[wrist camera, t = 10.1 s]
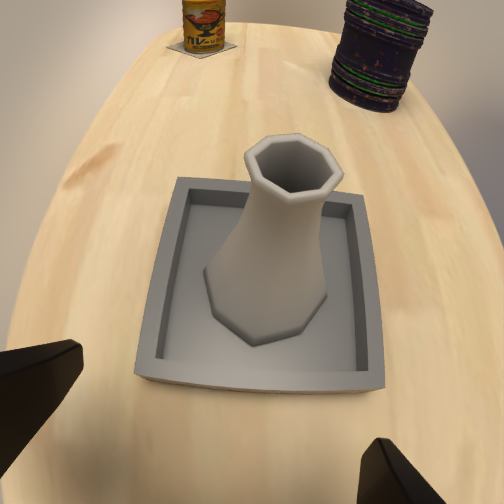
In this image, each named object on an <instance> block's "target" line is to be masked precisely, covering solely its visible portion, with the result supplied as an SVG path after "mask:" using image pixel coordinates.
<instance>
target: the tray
mask: <svg viewBox="0 0 504 504" xmlns="http://www.w3.org/2000/svg"><path fill="white" fill-rule="evenodd" d="M250 185H251V182H248V181H236V180H223V179H208V178H191V177H178V178H177V181H176V184H175V188H174V191H173V194H172V198H171V201H170V205H169V209H168V212H167V216H166V220H165V223H164V227H163V231H162V235H161V239H160V243H159V247H158V251H157V255H156V259H155V264H154V268H153V272H152V277H151V281H150V286H149V291H148V295H147V300H146V305H145V310H144V316H143V321H142V326H141V332H140V337H139V343H138V349H137V356H136V362H135V369H134V374H136V375H138V376H140V377H142V378H145V379H148V380H153V381H159V382H165V383H172V384H179V385H186V386H193V387H201V388H210V389H220V390H230V391H243V392H258V393H280V394H340V393H361V392H370V391H374V390H378V389H383V388H385V366H384V346H383V332H382V319H381V308H380V299H379V290H378V282H377V274H376V266H375V259H374V253H373V246H372V240H371V234H370V228H369V223H368V217H367V212H366V207H365V202H364V197H363V195H358V194H351V193H344V192H337V191H332V192H331V194H330V195H329V196H328V197H327V198H326V200H325V202H324V204H323V207H322V212H321V221H320V230H319V242H320V249H321V257H322V265H323V271H324V277H325V282H326V287H327V295H328V297H327V298H326V300H325V301H324V303H323V304H322V305H321V307H320V308H319V310H318V311H317V313H316V314H315V315H314V317H313V318H312V320H311V321H310V322H309V324H308V325H307V327H306V328H305V329H304V331H303V332H302V333H301V334H297V335H294V336H290V337H286V338H283V339H279V340H275V341H272V342H268V343H264V344H260V345H256V346H252V345H250V344H249V343H248V342H246V341H245V340H244V339H242V338H241V337H240V336H239V335H237V334H236V333H235V332H233V331H232V330H231V329H230V328H228V327H227V326H226V325H224V324H223V323H222V322H221V321H219V320H218V319H217V318H216V317H214V316H213V315H212V310H211V306H210V302H209V297H208V293H207V288H206V284H205V279H204V275H203V269H204V268H205V267H206V265H207V264H208V262H209V261H210V260H211V259H212V257H213V256H214V255H215V254H216V252H217V251H218V250H219V249H220V247H221V246H222V244H223V243H224V242H225V240H226V239H227V237H228V236H229V234H230V233H231V232H232V230H233V229H234V227H235V226H236V224H237V223H238V221H239V220H240V217H241V215H242V212H243V210H244V207H245V204H246V202H247V199H248V197H249V194H250Z"/></svg>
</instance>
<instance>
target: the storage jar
mask: <svg viewBox="0 0 504 504" xmlns="http://www.w3.org/2000/svg"><path fill="white" fill-rule="evenodd" d="M346 7H347V8H346V10H345V13H344V20H345V24H344V28H343V32H342V36H341V41H340V44H339V45H338V46H337V49H336V53H335V56H334V58H333V62H332V70H331V74H332V75H331V76H330V78H329V86H330V88H331V89H332V90H333V91H334V92H335V93H336V94H337V95H338V96H340V97H341V98H343V99H344V100H346V101H348V102H350V103H352V104H354V105H356V106H358V107H361V108H364V109H367V110H370V111H375V112H381V113H389V112H393V111H395V110H396V109H397V107H398V104H399V100H400V99H401V97H402V95H403V94H404V92H405V90H406V87H407V82H408V80H409V78H410V70H411V67H412V64H413V62H414V59H415V57H416V54H417V51H418V49H420V48H421V46H422V45H423V41H424V37H426V34H427V32H428V28H427V27H426V26H429V23H430V17H431V16H432V15H433V12H434V11H433V10H432V9H430V8H429V7H427V6H425V5H423V4H421V3H419V2H417V1H415V0H347V2H346Z"/></svg>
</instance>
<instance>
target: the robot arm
mask: <svg viewBox="0 0 504 504" xmlns="http://www.w3.org/2000/svg"><path fill="white" fill-rule="evenodd" d="M83 367H84V361H83V347H82V345H81V344H80V343H78V342H76V341H74V340H72V339H68V340H63V341H58V342H53V343H47V344H42V345H37V346H31V347H26V348H20V349H15V350H9V351H3V352H0V479H1V477H2V476H3V475H4V473H5V472H6V471H7V470H8V468H9V467H10V466H11V464H12V463H13V462H14V460H15V459H16V458H17V457H18V455H19V454H20V453H21V452H22V450H23V449H24V448H25V447H26V445H27V444H28V443H29V442H30V440H31V439H32V438H33V437H34V435H35V434H36V433H37V432H38V430H39V429H40V428H41V427H42V426H43V424H44V423H45V422H46V421H47V419H48V418H49V417H50V416H51V415H52V413H53V412H54V411H55V410H56V409H57V407H58V406H59V405H60V403H61V402H62V401H63V399H64V398H65V396H66V395H67V393H68V392H69V390H70V388H71V387H72V385H73V384H74V382H75V381H76V379H77V378H78V377H79V375H80V374H81V372H82V370H83ZM357 504H446V502H445V501H444V500H443V499H442V498H441V497H440V496H439V495H438V494H437V492H436V491H435V490H434V489H433V488H432V487H431V486H430V485H429V483H428V482H427V481H426V480H425V479H424V478H423V477H422V475H421V474H420V473H419V472H418V471H417V470H416V469H415V468H414V466H413V465H412V464H411V463H410V462H409V461H408V460H407V458H406V457H405V456H404V455H403V454H402V453H401V451H400V450H399V449H398V448H397V447H396V446H395V445H394V443H393V442H392V441H391V440H390V439H388V438H376V439H375V440H374V441H373V442H372V443H371V445H370V446H369V447H368V448H367V450H366V451H365V452H364V454H363V455H362V458H361V465H360V476H359V485H358V494H357Z"/></svg>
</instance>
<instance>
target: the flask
mask: <svg viewBox="0 0 504 504" xmlns="http://www.w3.org/2000/svg"><path fill="white" fill-rule="evenodd" d="M244 161H245V164H246V167H247V169H248V172H249V175H250V177H251V185H250V194H249V197H248V199H247V202H246V204H245V207H244V210H243V212H242V215H241V217H240V220H239V221H238V223H237V224H236V226H235V227H234V229H233V230H232V232H231V233H230V234H229V236H228V237H227V239H226V240H225V242H224V243H223V244H222V246H221V247H220V249H219V250H218V251H217V252H216V254H215V255H214V256H213V257H212V259H211V260H210V261H209V262H208V264H207V265H206V267H205V268H204V269H203V275H204V279H205V284H206V288H207V293H208V297H209V302H210V306H211V310H212V315H213V316H214V317H216V318H217V319H218V320H219V321H221V322H222V323H223V324H224V325H226V326H227V327H228V328H230V329H231V330H232V331H233V332H235V333H236V334H237V335H239V336H240V337H241V338H242V339H244V340H245V341H246V342H248V343H249V344H250V345H252V346H256V345H260V344H264V343H268V342H272V341H275V340H279V339H283V338H286V337H290V336H294V335H297V334H301V333H302V332H303V331H304V329H305V328H306V327H307V325H308V324H309V322H310V321H311V320H312V318H313V317H314V315H315V314H316V313H317V311H318V310H319V308H320V307H321V305H322V304H323V303H324V301H325V300H326V298H327V297H328V295H327V287H326V282H325V277H324V271H323V265H322V257H321V249H320V242H319V230H320V221H321V212H322V207H323V204H324V202H325V200H326V198H327V197H328V196H329V195H330V194H331V192H332V191H333V190H334V189H335V188H336V186H337V185H338V184H339V183H340V182H341V180H342V179H343V177H344V173H343V171H342V169H341V168H340V166H339V164H338V163H337V161H336V159H335V158H334V156H333V155H332V153H331V152H330V150H329V149H328V148H326V147H324V146H322V145H321V144H319V143H317V142H315V141H313V140H311V139H310V138H308V137H306V136H304V135H302V134H300V133H295V134H283V135H272V136H266V137H265V138H263V139H262V140H261V141H259V142H258V143H257V144H255V145H254V146H253V147H252V148H250V149H249V150H248V151H246V152H245V153H244Z"/></svg>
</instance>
